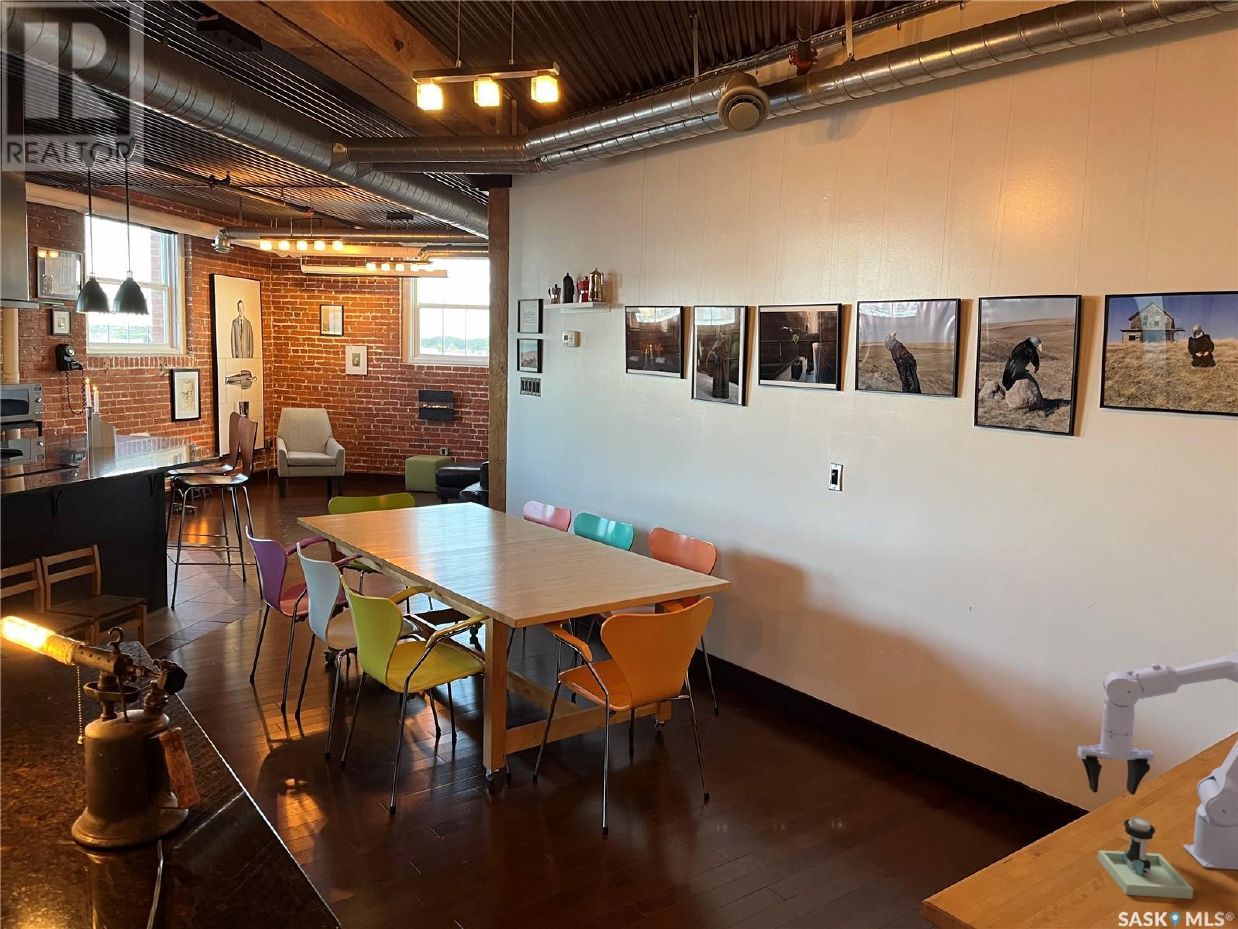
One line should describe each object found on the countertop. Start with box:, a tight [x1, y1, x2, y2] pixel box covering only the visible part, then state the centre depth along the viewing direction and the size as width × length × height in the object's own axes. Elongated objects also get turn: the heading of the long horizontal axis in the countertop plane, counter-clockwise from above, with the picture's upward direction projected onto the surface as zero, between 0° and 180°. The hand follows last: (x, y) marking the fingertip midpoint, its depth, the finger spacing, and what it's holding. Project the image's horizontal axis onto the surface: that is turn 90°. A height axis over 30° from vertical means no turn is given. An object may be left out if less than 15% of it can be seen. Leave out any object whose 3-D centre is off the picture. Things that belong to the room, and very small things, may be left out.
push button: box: [1123, 816, 1156, 878], centre depth 175 cm, size 7×5×10 cm
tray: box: [1097, 849, 1194, 900], centre depth 174 cm, size 12×12×2 cm
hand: (1112, 791), depth 187 cm, fingers open, 7 cm apart
